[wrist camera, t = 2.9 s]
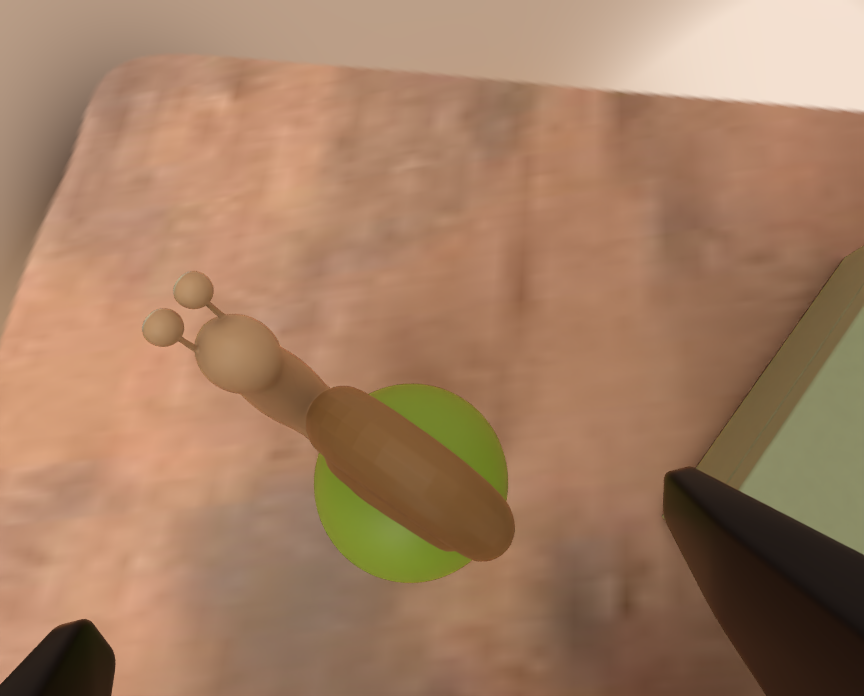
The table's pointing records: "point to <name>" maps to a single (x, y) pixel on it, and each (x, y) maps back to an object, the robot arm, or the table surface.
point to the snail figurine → (365, 448)
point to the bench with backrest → (807, 418)
